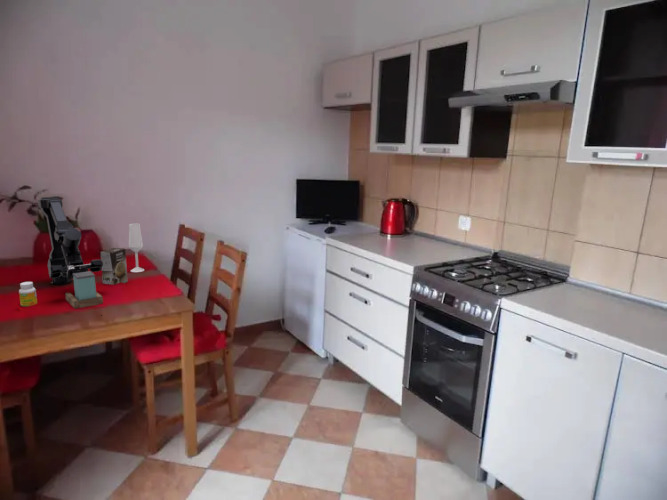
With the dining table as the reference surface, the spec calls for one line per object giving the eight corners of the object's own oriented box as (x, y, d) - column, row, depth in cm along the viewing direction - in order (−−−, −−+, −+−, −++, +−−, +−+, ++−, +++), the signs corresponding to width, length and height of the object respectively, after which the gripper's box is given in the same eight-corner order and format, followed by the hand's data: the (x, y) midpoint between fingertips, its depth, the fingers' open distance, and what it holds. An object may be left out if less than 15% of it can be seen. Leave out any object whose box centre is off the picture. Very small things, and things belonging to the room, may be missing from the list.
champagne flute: (131, 272, 219) (127, 225, 214) (129, 269, 225) (126, 223, 219) (145, 271, 223) (142, 225, 217) (143, 268, 228) (140, 222, 223)
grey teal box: (75, 302, 174) (72, 273, 171) (92, 299, 178) (89, 270, 175) (80, 307, 169) (77, 277, 167) (97, 303, 174) (94, 274, 171)
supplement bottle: (20, 310, 167) (16, 286, 165) (22, 305, 172) (19, 281, 170) (36, 308, 170) (33, 284, 168) (38, 303, 175) (35, 280, 172)
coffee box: (115, 287, 197) (112, 252, 193) (102, 286, 198) (99, 251, 195) (128, 281, 206) (126, 248, 202) (116, 280, 207) (113, 247, 203)
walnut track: (64, 302, 177) (63, 293, 176) (94, 297, 184) (93, 288, 183) (74, 312, 167) (73, 302, 167) (104, 306, 175) (104, 296, 174)
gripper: (93, 261, 192) (103, 291, 187) (43, 267, 179) (53, 300, 174) (97, 247, 184) (108, 278, 179) (46, 253, 172) (56, 286, 166)
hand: (82, 286), depth 175 cm, fingers closed, pressing on grey teal box
